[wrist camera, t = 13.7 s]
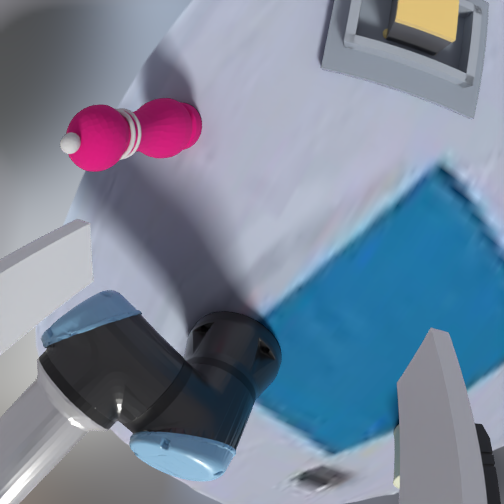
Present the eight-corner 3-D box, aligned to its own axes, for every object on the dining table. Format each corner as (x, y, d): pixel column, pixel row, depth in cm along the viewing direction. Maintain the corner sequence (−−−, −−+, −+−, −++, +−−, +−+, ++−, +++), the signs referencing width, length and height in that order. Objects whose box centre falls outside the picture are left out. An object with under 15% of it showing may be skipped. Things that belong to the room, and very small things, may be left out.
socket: (469, 118, 28) (483, 119, 24) (322, 69, 31) (318, 62, 27) (484, 6, 21) (497, -5, 17) (343, -42, 24) (341, -58, 20)
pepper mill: (171, 89, 37) (51, 87, 19) (216, 115, 37) (106, 122, 19) (149, 136, 40) (30, 163, 23) (189, 163, 40) (79, 205, 22)
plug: (433, 55, 25) (455, 40, 18) (385, 39, 26) (396, 18, 19) (438, 15, 23) (459, -8, 16) (392, -1, 24) (402, -30, 17)
